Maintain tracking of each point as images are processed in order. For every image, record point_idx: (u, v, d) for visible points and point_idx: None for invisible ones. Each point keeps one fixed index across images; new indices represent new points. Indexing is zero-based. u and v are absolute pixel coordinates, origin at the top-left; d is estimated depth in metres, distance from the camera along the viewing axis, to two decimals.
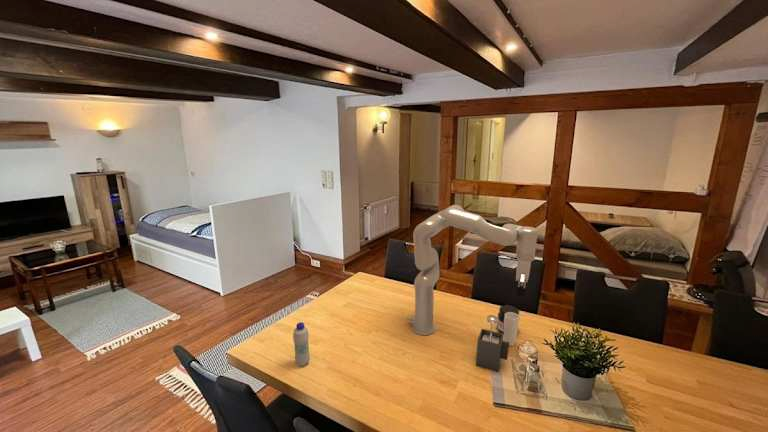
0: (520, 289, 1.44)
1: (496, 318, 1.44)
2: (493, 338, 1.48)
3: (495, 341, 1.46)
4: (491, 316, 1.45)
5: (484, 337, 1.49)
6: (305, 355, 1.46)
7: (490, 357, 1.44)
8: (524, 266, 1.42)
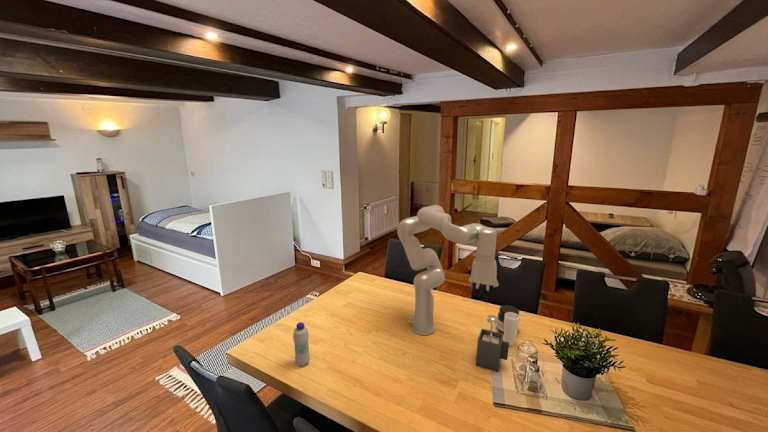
0: (488, 291, 1.42)
1: (496, 318, 1.44)
2: (493, 338, 1.48)
3: (495, 341, 1.46)
4: (491, 316, 1.45)
5: (484, 337, 1.49)
6: (305, 355, 1.46)
7: (490, 357, 1.44)
8: (496, 266, 1.39)
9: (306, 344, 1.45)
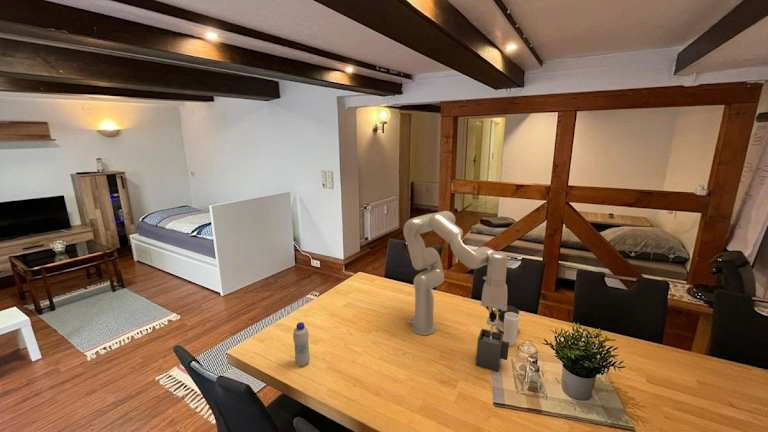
0: (496, 314, 1.43)
1: (496, 320, 1.44)
2: (493, 340, 1.48)
3: None
4: None
5: (484, 340, 1.49)
6: (305, 355, 1.46)
7: (490, 357, 1.44)
8: None
9: (306, 344, 1.45)
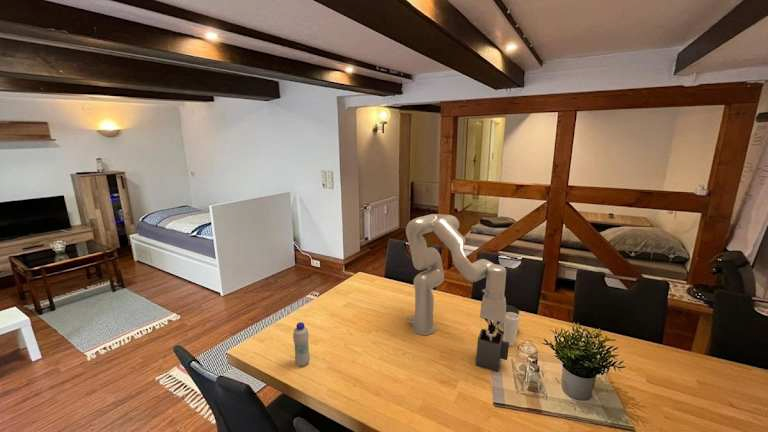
0: (495, 326, 1.44)
1: (495, 332, 1.45)
2: None
3: None
4: None
5: None
6: (305, 355, 1.46)
7: (490, 357, 1.44)
8: (505, 303, 1.41)
9: (306, 344, 1.45)
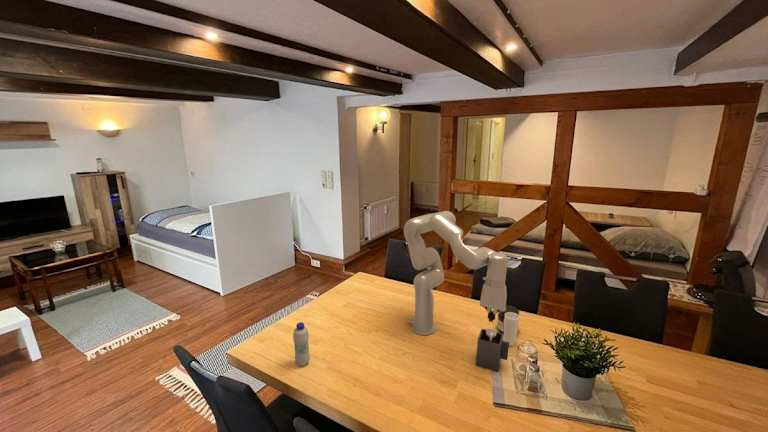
0: (495, 314, 1.44)
1: (495, 332, 1.45)
2: None
3: None
4: (490, 330, 1.47)
5: None
6: (305, 355, 1.46)
7: (490, 357, 1.44)
8: (506, 291, 1.40)
9: (306, 344, 1.45)
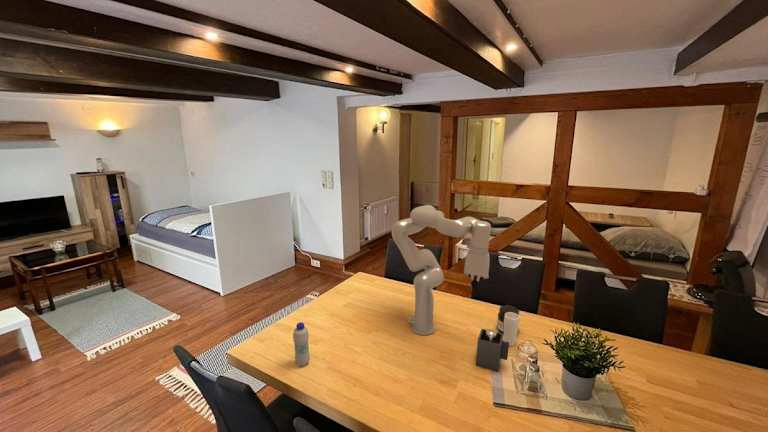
0: (478, 282, 1.48)
1: (495, 332, 1.45)
2: None
3: None
4: (490, 330, 1.47)
5: None
6: (305, 355, 1.46)
7: (490, 357, 1.44)
8: (489, 259, 1.44)
9: (306, 344, 1.45)
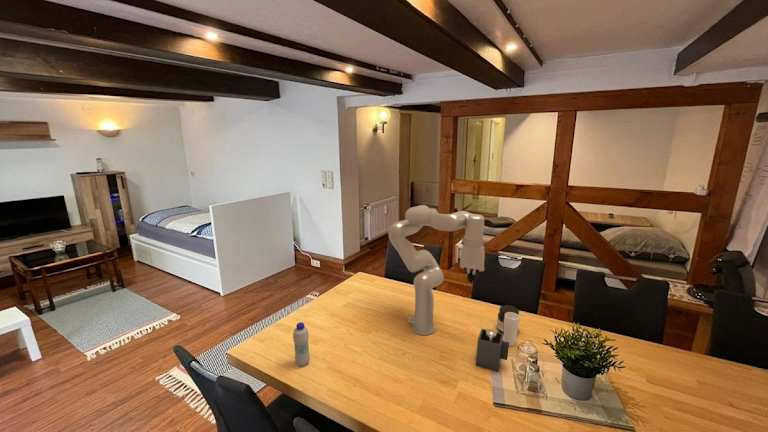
0: (474, 275, 1.49)
1: (495, 332, 1.45)
2: None
3: None
4: (490, 330, 1.47)
5: None
6: (305, 355, 1.46)
7: (490, 357, 1.44)
8: None
9: (306, 344, 1.45)
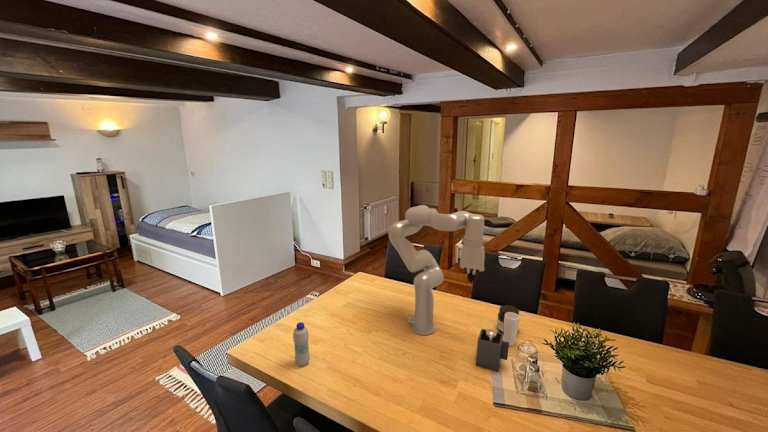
0: (474, 275, 1.49)
1: (495, 332, 1.45)
2: None
3: None
4: (490, 330, 1.47)
5: None
6: (305, 355, 1.46)
7: (490, 357, 1.44)
8: None
9: (306, 344, 1.45)
